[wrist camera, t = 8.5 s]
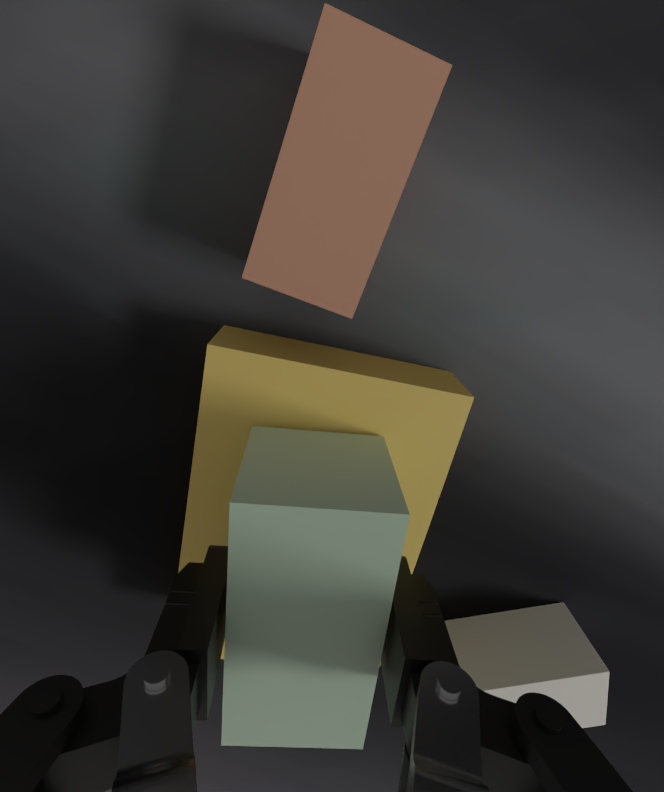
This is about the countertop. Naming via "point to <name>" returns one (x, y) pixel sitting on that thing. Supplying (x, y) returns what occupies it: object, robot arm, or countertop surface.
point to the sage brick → (309, 587)
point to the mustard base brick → (318, 422)
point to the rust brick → (343, 162)
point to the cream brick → (534, 658)
